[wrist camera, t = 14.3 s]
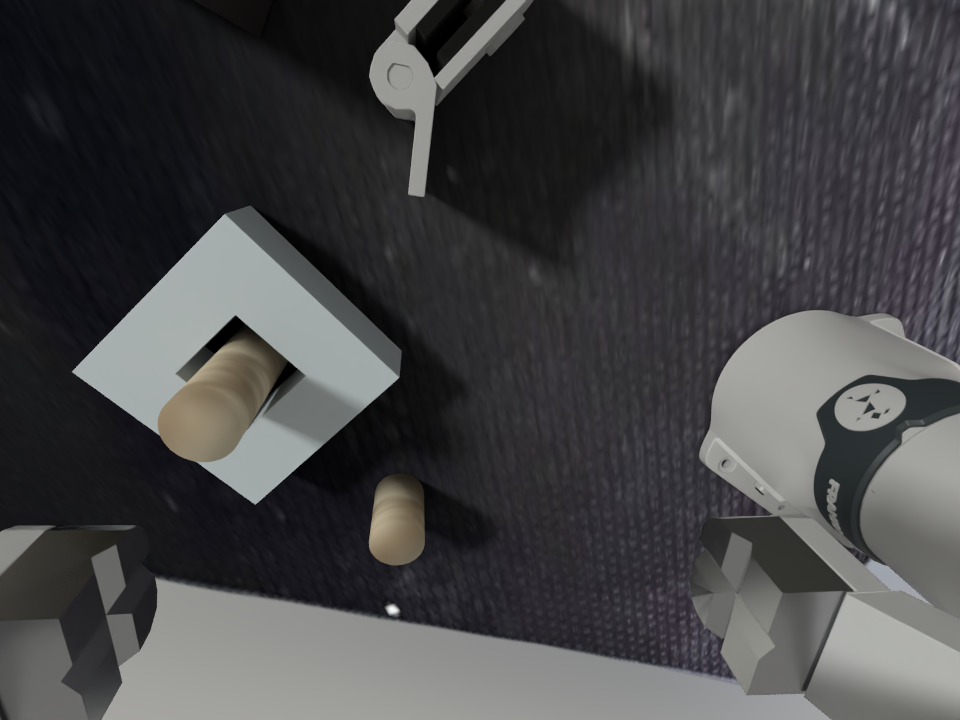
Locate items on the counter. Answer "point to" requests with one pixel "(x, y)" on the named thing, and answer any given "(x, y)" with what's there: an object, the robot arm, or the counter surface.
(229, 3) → the phone stand
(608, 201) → the counter surface
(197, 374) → the tall pin
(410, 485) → the short pin
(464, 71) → the hinge
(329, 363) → the hole board
